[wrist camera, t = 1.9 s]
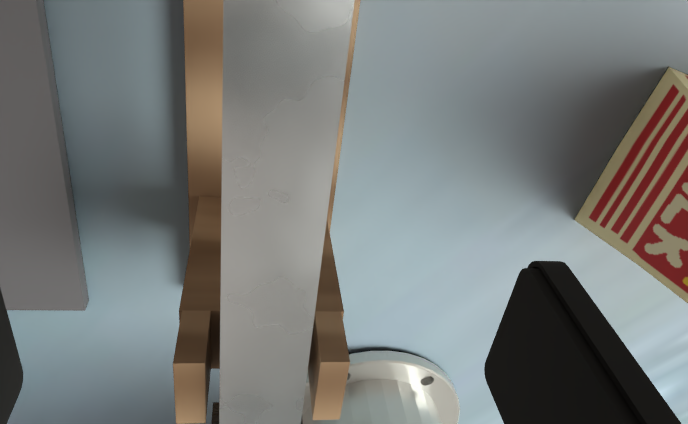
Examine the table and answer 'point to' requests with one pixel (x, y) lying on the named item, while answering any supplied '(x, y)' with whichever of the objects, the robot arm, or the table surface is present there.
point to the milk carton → (649, 188)
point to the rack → (205, 236)
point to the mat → (34, 172)
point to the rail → (275, 196)
